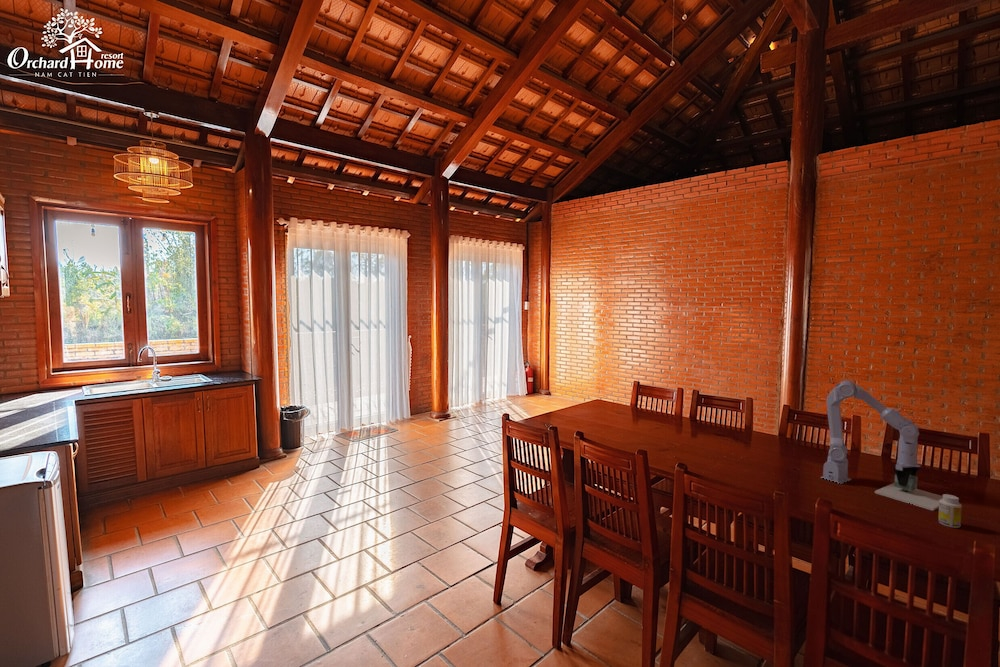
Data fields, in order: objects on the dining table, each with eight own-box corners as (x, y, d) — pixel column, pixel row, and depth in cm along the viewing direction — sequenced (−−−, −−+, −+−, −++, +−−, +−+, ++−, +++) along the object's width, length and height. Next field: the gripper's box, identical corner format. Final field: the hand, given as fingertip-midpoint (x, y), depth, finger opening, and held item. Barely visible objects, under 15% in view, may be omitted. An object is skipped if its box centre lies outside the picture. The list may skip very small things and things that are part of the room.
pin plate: (933, 510, 166) (933, 498, 166) (874, 492, 182) (875, 481, 182) (951, 500, 175) (952, 488, 174) (894, 484, 190) (895, 473, 190)
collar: (911, 491, 178) (911, 479, 178) (894, 486, 183) (894, 474, 182) (916, 488, 181) (917, 476, 180) (900, 483, 185) (900, 472, 185)
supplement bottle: (959, 524, 156) (961, 496, 155) (961, 530, 152) (963, 501, 151) (937, 519, 160) (939, 491, 159) (938, 524, 156) (940, 496, 155)
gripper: (912, 457, 174) (910, 491, 175) (927, 451, 181) (925, 484, 182) (890, 452, 180) (888, 484, 181) (905, 447, 187) (903, 478, 188)
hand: (905, 484), depth 182 cm, fingers closed on collar, 5 cm apart
